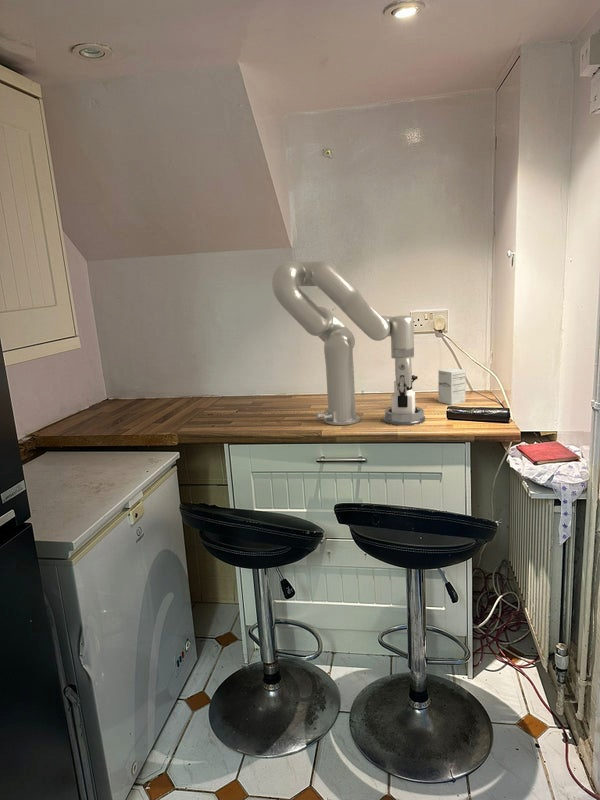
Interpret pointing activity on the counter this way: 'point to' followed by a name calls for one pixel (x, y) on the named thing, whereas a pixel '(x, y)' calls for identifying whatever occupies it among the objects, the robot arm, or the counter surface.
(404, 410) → the medicine bottle
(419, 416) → the ring collar
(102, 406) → the counter surface
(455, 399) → the supplement box
